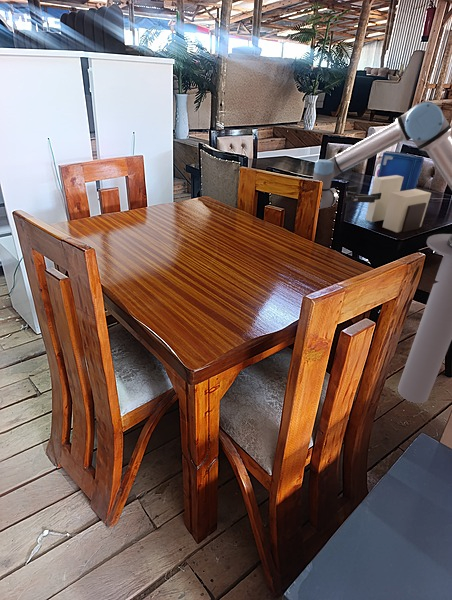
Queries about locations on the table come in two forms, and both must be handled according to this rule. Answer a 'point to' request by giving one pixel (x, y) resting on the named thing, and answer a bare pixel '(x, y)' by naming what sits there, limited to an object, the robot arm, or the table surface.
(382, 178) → the cream book
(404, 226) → the cream upright block
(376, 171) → the supplement can
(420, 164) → the book
